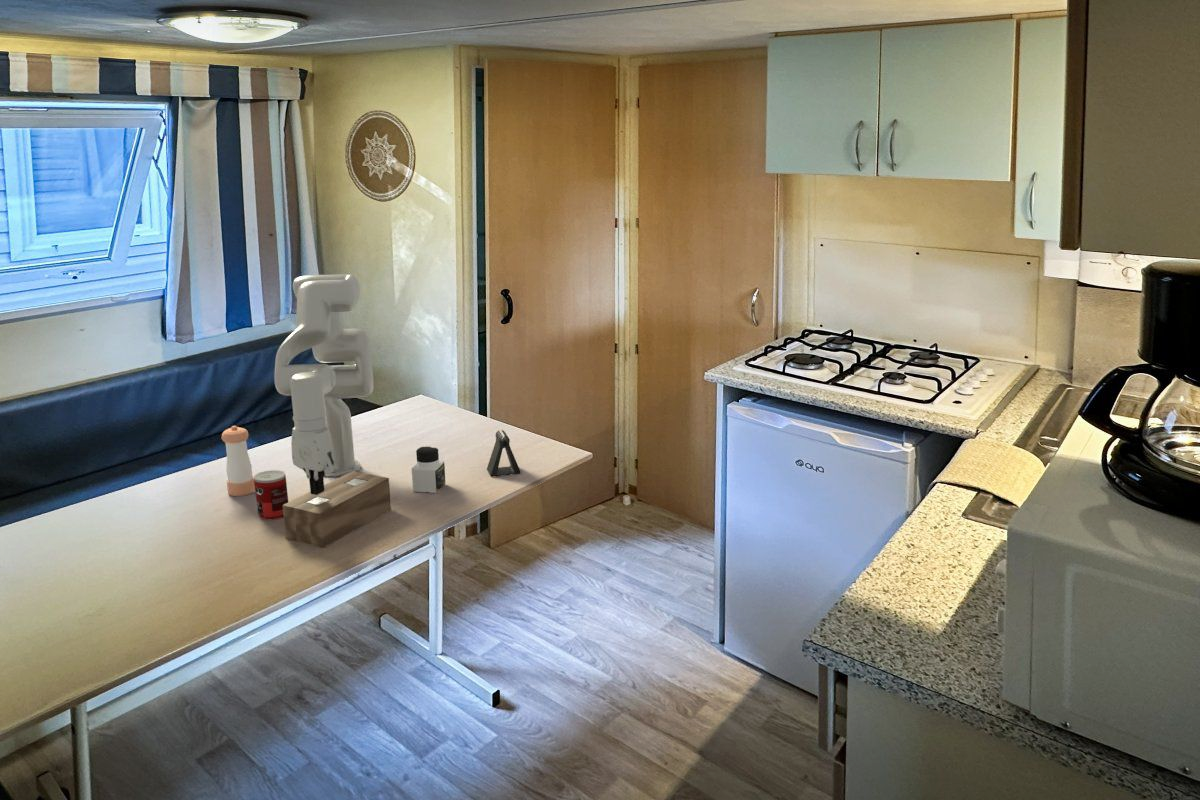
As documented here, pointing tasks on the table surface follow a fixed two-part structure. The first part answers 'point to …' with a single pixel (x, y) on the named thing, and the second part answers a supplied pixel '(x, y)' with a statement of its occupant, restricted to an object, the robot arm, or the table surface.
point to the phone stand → (496, 457)
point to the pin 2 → (356, 482)
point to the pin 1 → (318, 501)
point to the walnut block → (337, 509)
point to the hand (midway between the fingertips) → (317, 492)
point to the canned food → (270, 493)
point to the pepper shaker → (238, 462)
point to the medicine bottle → (428, 471)
